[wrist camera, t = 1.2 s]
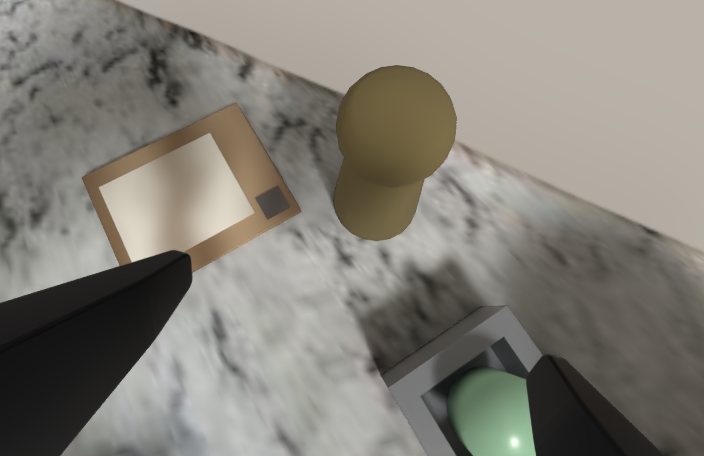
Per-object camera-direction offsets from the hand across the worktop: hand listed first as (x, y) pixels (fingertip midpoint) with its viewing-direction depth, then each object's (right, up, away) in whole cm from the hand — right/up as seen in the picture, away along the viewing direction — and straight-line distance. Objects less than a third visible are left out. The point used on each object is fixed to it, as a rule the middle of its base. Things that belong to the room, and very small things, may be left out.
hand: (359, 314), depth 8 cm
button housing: (+7, -8, +12) cm, 16 cm away
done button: (+7, -8, +9) cm, 14 cm away
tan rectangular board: (-12, +4, +15) cm, 19 cm away
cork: (+1, +4, +15) cm, 16 cm away
